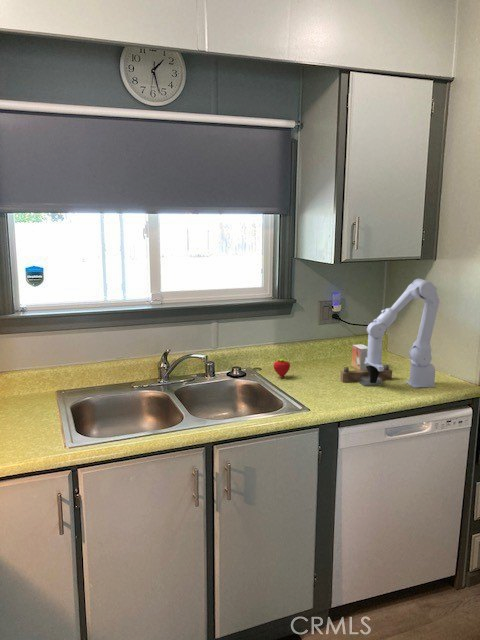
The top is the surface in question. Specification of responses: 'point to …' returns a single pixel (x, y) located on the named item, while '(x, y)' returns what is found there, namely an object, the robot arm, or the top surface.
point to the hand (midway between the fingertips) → (373, 383)
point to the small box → (359, 356)
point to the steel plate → (368, 381)
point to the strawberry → (281, 367)
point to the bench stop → (364, 374)
